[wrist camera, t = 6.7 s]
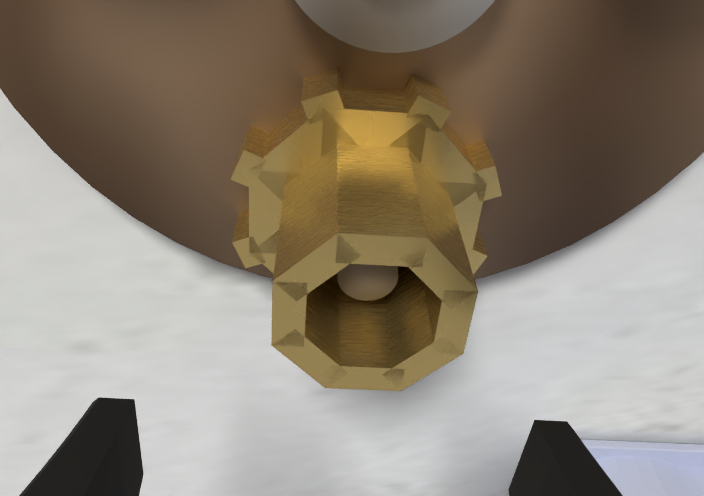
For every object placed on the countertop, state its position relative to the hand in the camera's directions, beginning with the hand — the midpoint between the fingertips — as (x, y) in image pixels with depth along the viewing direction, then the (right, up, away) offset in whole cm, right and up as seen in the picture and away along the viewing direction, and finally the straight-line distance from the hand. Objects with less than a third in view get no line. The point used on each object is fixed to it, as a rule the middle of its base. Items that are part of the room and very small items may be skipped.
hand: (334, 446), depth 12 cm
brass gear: (+1, +5, +6) cm, 8 cm away
